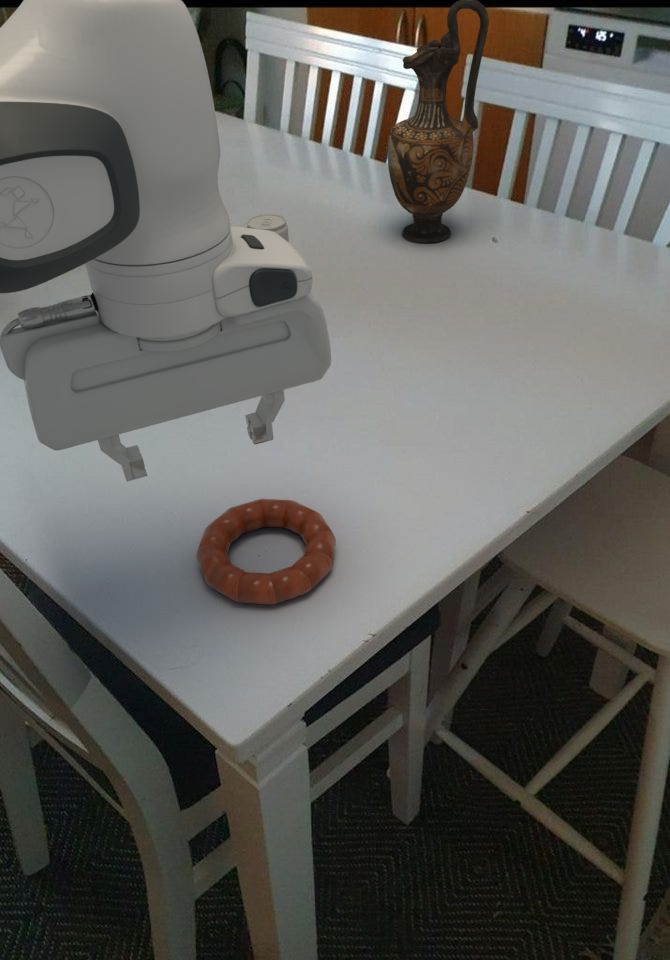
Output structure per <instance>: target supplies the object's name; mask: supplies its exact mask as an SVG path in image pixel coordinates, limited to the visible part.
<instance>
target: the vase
mask: <svg viewBox="0 0 670 960" xmlns="http://www.w3.org/2000/svg"><path fill="white" fill-rule="evenodd" d="M463 9H466V10H471V11H473V12H475V13H476V14H477V16H478V18H479V30H478V33H477V38H476V43H475V47H474V50H473V56H472V59H471V63H470V69H469V74H468V80H467V85H466V90H465V91H466V92H465V99H464V109H463V116H462V120H461V119H459V118H456V117H453V116H452V115H451V114H450V113H449V110H448V103H447V86H448V80H449V77H450V75H451V72H452V70H453V68H454V66H455V65H457V64H458V63H459V61H460V55H461V42H460V37H459V23H458V17H457V15H458V13H459V12H460V10H463ZM446 23H447V24H446V25H447V29H448V30H447V32H446V33H445V34H444V35H442V36H441V38H440V40H439V39H432V40H430V41H429V42H428V43H425V44H422V45H421V46H419V47H417V48H416V51H415V52H414V53H413V54H412V55H407V56H404V57H403V58H402V63H403V64H402V67H403V69H404V70H410V69H411V70H412V71H413V72H414V74H415V76H416V78H417V80H418V84H419V85H418V87H419V92H418V102H417V107H416V110H415V113H414V115H413V116H412V117H410V118H409V117H408V118H405V119H403V120H401V121H399V122H397V123H395V124H394V125H393V126H392V127H391V128H390V130H389V131H388V135H387V143H386V144H387V146H386V147H387V148H386V151H387V152H386V154H387V155H386V157H387V166H388V175H389V179H390V182H391V183H390V184H391V187H392V190H393V193H394V196H395V198H396V200H397V202H398V204H399V205H400V206H401V208H402V209H404V210H405V211H407V213H409V214H411V215H412V220H413V222H412V223H410V224H407V225H406V226H404V227H403V228H402V232H401V236H402V238H404V239H405V240H406V241H408V242H411V243H417V244H433V243H440V242H443V241H445V240H447V239H449V238H450V237H451V236H452V230H451V229H450V227H449V226H447V225H446V224H444V223H442V221H443V215H444V213H446V212H447V211H449V210H450V209H452V208H453V207H454V206H455V205H456V204H457V203H458V202H459V200H460V198H461V196H462V194H463V193H464V191H465V188H466V186H467V183H468V180H469V176H470V173H471V168H472V165H473V164H472V163H473V157H474V144H475V143H474V132H475V131H476V130H477V129H479V121H478V117H477V115H476V113H475V97H476V91H477V83H478V78H479V73H480V68H481V63H482V59H483V53H484V49H485V44H486V40H487V37H488V31H489V29H488V28H489V25H490V19H489V14H488V10H487V8H486V7H485V5H483V4H482V3H481V1H479V0H458V1H455V2H454V3H453V4H452V6H450V8H449V10H448V13H447V17H446Z"/></svg>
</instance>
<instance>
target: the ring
mask: <svg viewBox="0 0 670 960" xmlns="http://www.w3.org/2000/svg"><path fill="white" fill-rule="evenodd" d="M264 527H265V528H266V527H267V528H282V529H288V530H289V531H291V532H293V533H295V534H297V535H299V536H300V537H301V538H302V540H303V541H304V544H305V548H304V552H303V555H302V556H301V557H299V559H297V560H296V561H295V563H293V564H292V565H291V566H287V567H285V568H282V569H279V570H275V571H272V572H268V573H267V572H253V571H246V570H244V569H242V568H240V567H239V566H237V565H235V564H233V563H232V562H231V560H230V557H229V555H228V553H229V549H230V547H231V544H232V543H234V542H235V541H236V540H237V539H238V538H240V537H241V536H242V535H243V534H244V533H248V532H252V531H255V530H258V529H261V528H264ZM336 546H337V540H336V536H335V534H334V532H333V531H332V529H331V527H330V526H329V525H328V523H327V521H326V520H325V518H324V516H323V515H322V514H321V513H320V512H318V511H316V510H315V509H313V508H310V507H308V506H306V505H304V504H302V503H300V502H297V501H296V500H292V499H276V498H259V499H255V500H252V501H248V502H245V503H242V504H238V505H234V506H231V507H230V508H228V509H226V511H224V512H223V513H222V514H221V515H219V516H218V517H217V518H216V519H214V520H213V521H212V522H211V523H209V524H208V525H207V526H206V527H205V529H204V531H203V534H202V537H201V540H200V541H199V545H198V547H197V551H196V560H197V564H198V566H199V568H200V570H201V573H202V575H203V578H204V580H205V582H206V584H207V585H208V586H209V587H210V588H212V589H213V590H215V591H216V592H218V593H220V594H222V595H223V596H225V597H227V598H228V599H231V600H232V601H234V602H235V603H241V604H242V603H244V604H256V605H257V604H258V605H277V604H280V603H282V602H285V601H288V600H291V599H294V598H297V597H300V596H303V595H306V594H307V593H309V592H310V591H311V590H312V589H313V588H314V587H316V585H317V584H319V582H321V580H322V579H324V578H325V577H326V576H327V575H328V574H329V572H330V571H331V570H332V567H333V563H334V557H335V550H336Z"/></svg>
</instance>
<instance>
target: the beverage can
mask: <svg viewBox="0 0 670 960" xmlns="http://www.w3.org/2000/svg"><path fill="white" fill-rule="evenodd" d="M246 228H252V229H262V230H269V231H273V232H275V233H277V234H278V235H280V236H281V237H282V238H284V239H285V240H286V241H287V242H289V243H290V238H289V226H288V224H287V219H286V217H285V216H284V215H281V214H277V213H261V214H255V215H253V216H251V217H249V218H248V219H247V220H246Z"/></svg>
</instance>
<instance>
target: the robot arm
mask: <svg viewBox="0 0 670 960" xmlns="http://www.w3.org/2000/svg"><path fill="white" fill-rule="evenodd" d="M210 81H211V80H210V77H209V71H208V67H207V63H206V58H205V55H204V51H203V48H202V44H201V40H200V37H199V33H198V31H197V28H196V25H195V22H194V20H193V18H192V15H191V13H190V11H189V9H188V8H187V5H186V4H185V3H184V1H183V0H22V2H21V3H20V5H19V6H18V7H17V8H16V10H15V11H13V13H12V14H10V16H9V18H8V19H7V20H6V21H5V22H4V23H3V24H2V25H1V26H0V294H11V293H17V292H22V291H26V290H29V289H31V288H34V287H37V286H40V285H42V284H44V283H47V282H49V281H52V280H53V279H56V278H58V277H60V276H62V275H64V274H66V273H69V272H70V271H73V270H75V269H77V268H79V267H81V266H83V265H85V268H86V272H87V275H88V279H89V283H90V284H89V285H90V288H91V290H92V292H91V294H87V295H83V296H82V295H81V296H79V297H74V298H70V299H66V300H62V301H59V302H57V303H53V304H50V305H48V306H41V307H40V306H33V307H29V308H26V309H23V310H21V311H18V312H17V317H16V318H14V319H12V320H11V321H9V322H8V323H7V324H6V325H5V326H4V327H3V328H2V331H1V332H0V351H1V354H2V356H3V359H4V362H5V364H6V367H7V369H8V370H9V371H10V373H11V374H12V375H14V376H15V377H16V378H18V379H19V380H22V381H23V384H24V389H25V394H26V399H27V403H28V409H29V411H30V416H31V419H32V420H31V421H32V424H33V427H34V430H35V435H36V437H37V440H38V442H39V443H41V445H43V446H46V447H47V448H49V449H51V450H52V451H64V450H66V449H67V450H68V449H70V448H74V447H77V446H78V447H79V446H81V445H85V444H88V443H92V442H96V441H97V443H98V446H99V449H100V451H101V452H102V453H104V454H105V455H106V456H108V458H110V459H111V460H113V461H114V462H115V463H117V464H118V465H120V467H121V470H122V473H123V475H124V478H125V481H126V482H131V481H135V480H138V479H141V478H145V477H148V473H147V469H146V466H145V461H144V458H143V456H142V453H141V451H140V447H139V445H138V444H135V445H132V446H127V447H126V446H125V445H124V444H123V443H122V442H121V438H120V435H122V434H125V433H129V432H132V431H137V430H140V429H144V428H147V427H151V426H155V425H158V424H163V423H166V422H170V421H173V420H178V419H182V418H184V417H188V416H191V415H196V414H200V413H204V412H206V411H210V410H214V409H218V408H221V407H226V406H229V405H232V404H233V405H234V404H236V403H241V402H244V401H247V400H251V399H255V398H258V397H260V400H258V401H259V402H258V404H257V406H256V409H255V411H254V412H252V413H247V414H245V415H244V416H245V417H244V418H245V423H246V424H247V427H246V430H247V434H248V437H249V439H250V440H251V442H252V444H253V445H254V446H255V445H260V444H263V443H266V442H271V441H273V440H274V438H275V437H274V430H273V423H274V422H275V420H276V418H277V416H278V414H279V412H280V411H281V408H282V406H283V405H284V403H285V390H288V389H292V388H296V387H300V386H303V385H307V384H310V383H314V382H318V381H321V380H323V378H324V376H325V375H326V374H327V372H328V370H329V369H330V367H331V365H332V351H331V342H330V335H329V329H328V324H327V320H326V316H325V312H324V309H323V307H322V305H321V303H320V302H319V300H318V299H317V298H316V297H315V296H314V295H313V293H311V291H312V288H313V272H312V270H311V267H310V266H309V264H308V262H307V261H306V259H305V258H304V257H303V256H302V254H300V252H299V251H298V250H297V249H296V248H295V247H294V246H293V245H292V244H291V243H290V241H289V242H287V241H286V240H285V239H284V238H282V237H281V236H280V235H278V234H277V233H275V232H273V231H269V230H262V229H252V228H247V227H243V226H233V225H231V221H230V216H229V213H228V210H227V208H226V206H225V203H224V202H223V199H222V196H221V193H220V192H221V191H220V188H219V187H220V186H219V168H220V163H221V162H220V161H221V145H220V144H221V143H220V137H219V128H218V121H217V115H216V110H215V104H214V97H213V91H212V87H211V86H212V85H211V82H210ZM18 326H19V327H18Z"/></svg>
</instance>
